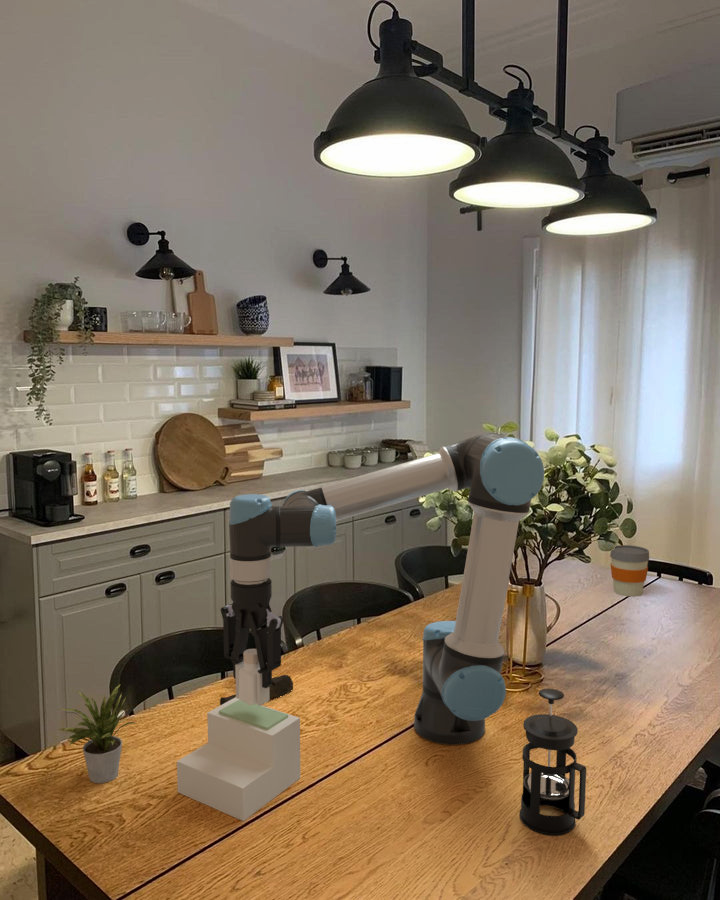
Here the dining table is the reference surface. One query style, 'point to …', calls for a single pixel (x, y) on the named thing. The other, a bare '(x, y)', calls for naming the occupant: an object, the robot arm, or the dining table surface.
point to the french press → (551, 773)
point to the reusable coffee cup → (629, 569)
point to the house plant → (100, 738)
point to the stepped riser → (242, 759)
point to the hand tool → (272, 688)
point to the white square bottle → (249, 677)
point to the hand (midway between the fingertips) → (252, 698)
